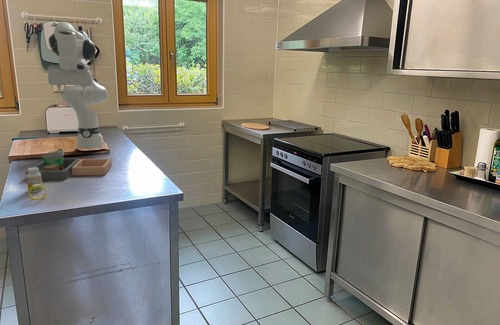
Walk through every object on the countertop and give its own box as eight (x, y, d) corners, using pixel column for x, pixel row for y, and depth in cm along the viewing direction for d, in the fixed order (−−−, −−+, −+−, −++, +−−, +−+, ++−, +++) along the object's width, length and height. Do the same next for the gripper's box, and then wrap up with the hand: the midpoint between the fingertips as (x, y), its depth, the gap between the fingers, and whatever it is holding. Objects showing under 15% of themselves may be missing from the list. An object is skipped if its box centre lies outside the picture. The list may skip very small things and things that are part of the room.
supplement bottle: (34, 188, 159) (31, 166, 156) (45, 188, 158) (43, 167, 156) (25, 192, 154) (22, 169, 151) (37, 193, 153) (34, 170, 151)
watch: (30, 201, 144) (27, 187, 143) (30, 199, 147) (27, 185, 145) (47, 198, 147) (44, 184, 145) (47, 196, 149) (44, 182, 148)
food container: (54, 174, 178) (52, 154, 175) (43, 173, 179) (41, 153, 176) (71, 167, 190) (69, 149, 187) (61, 167, 191) (59, 148, 188)
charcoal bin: (46, 166, 192) (45, 158, 191) (81, 165, 194) (80, 158, 193) (26, 180, 169) (25, 171, 168) (66, 179, 171) (65, 171, 170)
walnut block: (48, 174, 178) (46, 164, 177) (59, 174, 179) (57, 164, 177) (43, 177, 173) (42, 167, 172) (55, 177, 174) (54, 167, 172)
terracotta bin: (82, 166, 192) (81, 159, 191) (112, 166, 195) (111, 158, 194) (72, 175, 177) (71, 167, 176) (105, 174, 179) (104, 166, 178)
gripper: (44, 65, 175) (47, 94, 179) (89, 66, 178) (92, 95, 182) (49, 65, 181) (52, 93, 185) (92, 66, 184) (95, 94, 188)
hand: (72, 94), depth 184 cm, fingers open, 8 cm apart
